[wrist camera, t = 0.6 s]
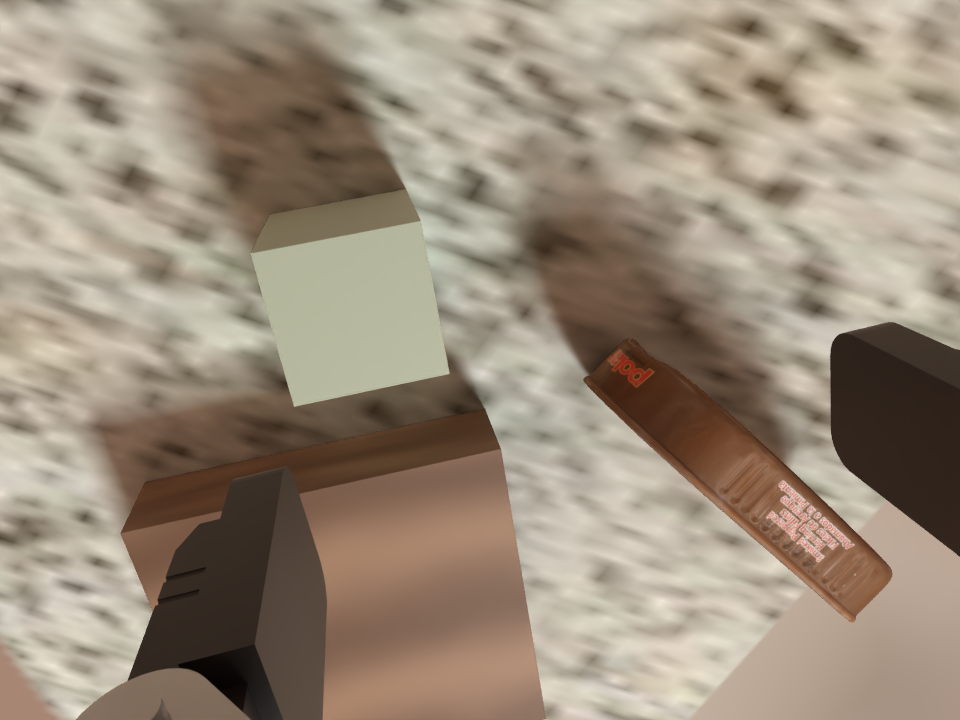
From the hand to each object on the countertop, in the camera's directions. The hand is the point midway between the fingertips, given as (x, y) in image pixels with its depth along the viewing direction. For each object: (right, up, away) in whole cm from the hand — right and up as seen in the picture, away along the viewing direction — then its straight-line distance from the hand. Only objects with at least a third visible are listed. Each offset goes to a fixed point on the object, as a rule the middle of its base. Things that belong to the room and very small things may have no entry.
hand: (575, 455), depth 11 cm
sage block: (-6, +5, +18) cm, 19 cm away
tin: (+8, -2, +23) cm, 24 cm away
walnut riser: (-7, -8, +23) cm, 25 cm away
